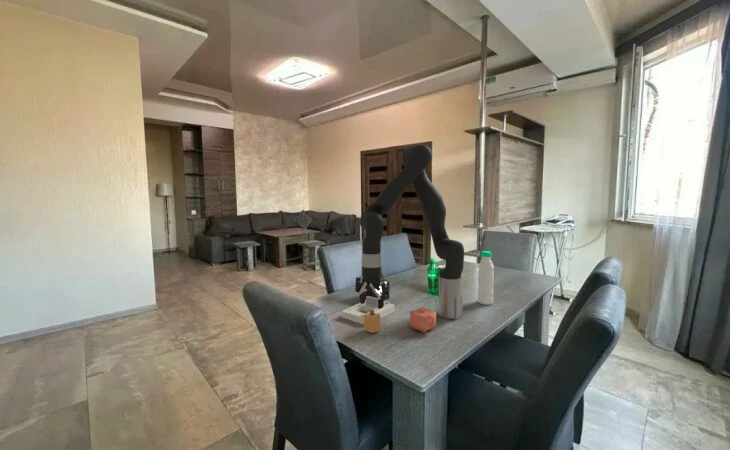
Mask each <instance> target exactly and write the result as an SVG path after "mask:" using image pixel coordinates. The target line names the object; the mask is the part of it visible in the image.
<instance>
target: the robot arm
mask: <svg viewBox="0 0 730 450" xmlns="http://www.w3.org/2000/svg"><path fill="white" fill-rule="evenodd" d="M432 153H433V152H432V150H431V148H430V147H429V146H428V145H426V144H416V145H413V146H408V147H406V148H405V149H404V150H403V152H402V154H401V161H402V162H401V163H402V164H403V168H402V170H401V171H400V172H399V173H398V174H397V175H396V176H395V177H394V178H393V179H391V180H390V181H389V182H388V183H387V184H386V186H385V187H384V188H383V189H382V190H381V192H380V193H379V194H378V196H377V197H376V199H375V200H374V201H373V202H372V203H371V204H370V205H369V206H368V207H367V208H366V209H365V210H364V211H363V212H362V213H361V215H360V218H359V226H360V227H361V228H362V229H364V230H365V231H366V232H365V237H364V238H363V239H362V242H361V243H362V244H361V248H362V249H361V250H362V251H361V275H360V276H357V277H355V292H356V293H358V295H359V303H361V304H364V303H365V301H366V300H365V294H364V293H365V292H366V290H368V291H372V292H374V293H375V294H376V295H377V297H378V309H381V308H383V306H384V301H385V300H384V299H385V298H387V297H390V293H389V294H388V282H381V279H380V278H382V255H381V254H382V253H381V250H382V245H381V241H382V237H383V234H384V233H383V232H384V229H385V228H384V227H385V222H384V217H383V216H384V215H385V214H387V213H390V211H391V210H392V209H393V208H394V207H395V205H396V204H397V202H398V201H399V199H400V198H401V197H402V195H403V194H404V193H405V191H406V190H407V189H408V188H409V187H410V185H411V184H412V185H413V186H412V187H413V189H414V191H415V194H416V197H417V198H418V202H419V205H420V208H421V211H422V214H423V217H424V218H425V221H426V224H427V227H428V230H429V232H430V235H431V238H432V243H433V247H434V251H435V254H436V256H437V257H438V258H440V259H441V260H444V261H445V266H444V268H443V267H442V268H440V269H439V270H438V316H439V317H440V318H443V319H447V320H459V319H460V318H461V317H462V316H463V301H464V299H463V293H462V274H463V270H464V261H465V248H464V245H463V243H462V242H461V241H458V240H454V239H450V237H449V235H448V233H447V230H446V226H445V225H446V224H445V222H446V216H447V210H446V205H445V202H444V200H443V197H442V195H441V193H440V191H439V190H438V189H437V187H436V186H435V185H434V184H433V182H432V181H431V180H430V178H429V177H428V174H427V172H426V168H427V167H428V166H429V165H430V163H431V161H432V159H433V154H432ZM362 283H363V284H364V285H363V286H362ZM380 285H381V287H380ZM381 288H382V289H381ZM377 290H379V291H377Z"/></svg>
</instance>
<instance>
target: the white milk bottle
mask: <svg viewBox="0 0 730 450" xmlns="http://www.w3.org/2000/svg"><path fill="white" fill-rule="evenodd" d="M492 255H493V254H492V251H489V250H487V251H486V250H482V251H481V252H480V256H481V260H480V262H479V264H478V265H477V267H478V273H477V303H479V304H480V305H484V306H489V305H492V304H493V303H494V284H495V281H494V279H495V274H494V273H495V272H494V270H495V266H494V263H493V260H491V259H492Z"/></svg>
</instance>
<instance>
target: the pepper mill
mask: <svg viewBox="0 0 730 450" xmlns="http://www.w3.org/2000/svg"><path fill="white" fill-rule="evenodd" d="M380 279H381V282H388V294H389V295H390V280H389V279H386V278H383V277H381V278H380ZM363 285H364V284H363V283H362V286H363ZM380 287H381V285H380ZM381 289H382V288H381ZM377 291H379V290H377ZM364 294H365V299H366V296H370V297H374V298H378V297H377V295H376V294H375V293H374V292H372V291H368V290H366V292H365V293H364ZM389 299H390V296H389V297H387V298H385V299H384V301H387V300H389Z"/></svg>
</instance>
